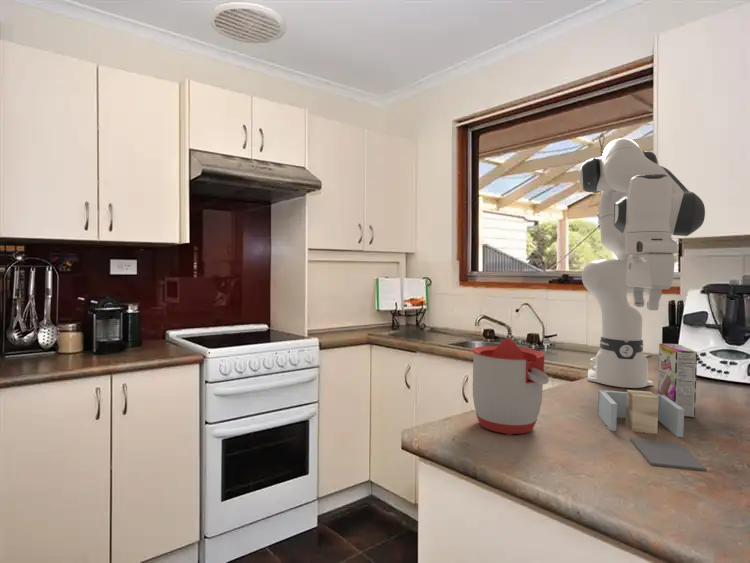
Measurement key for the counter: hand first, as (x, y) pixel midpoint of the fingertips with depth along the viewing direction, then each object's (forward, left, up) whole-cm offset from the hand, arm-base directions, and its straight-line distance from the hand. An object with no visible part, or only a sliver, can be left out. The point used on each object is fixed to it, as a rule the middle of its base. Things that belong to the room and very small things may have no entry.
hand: (645, 308), depth 105 cm
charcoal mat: (+15, 0, -27) cm, 31 cm away
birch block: (0, 0, -27) cm, 27 cm away
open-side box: (-3, 0, -27) cm, 27 cm away
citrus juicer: (+8, -29, -27) cm, 41 cm away
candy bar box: (-18, +13, -27) cm, 35 cm away
